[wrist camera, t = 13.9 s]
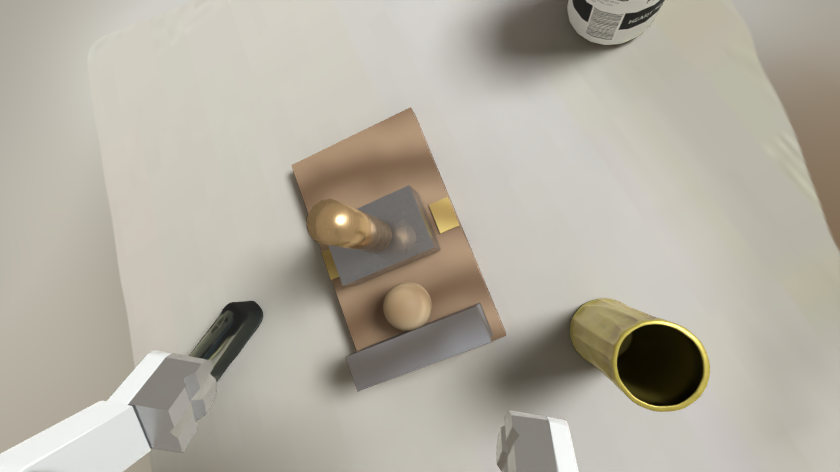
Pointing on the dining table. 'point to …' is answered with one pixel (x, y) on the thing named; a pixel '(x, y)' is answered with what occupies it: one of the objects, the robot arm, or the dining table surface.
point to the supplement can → (612, 19)
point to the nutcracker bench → (412, 283)
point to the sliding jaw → (373, 234)
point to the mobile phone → (228, 335)
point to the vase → (641, 354)
